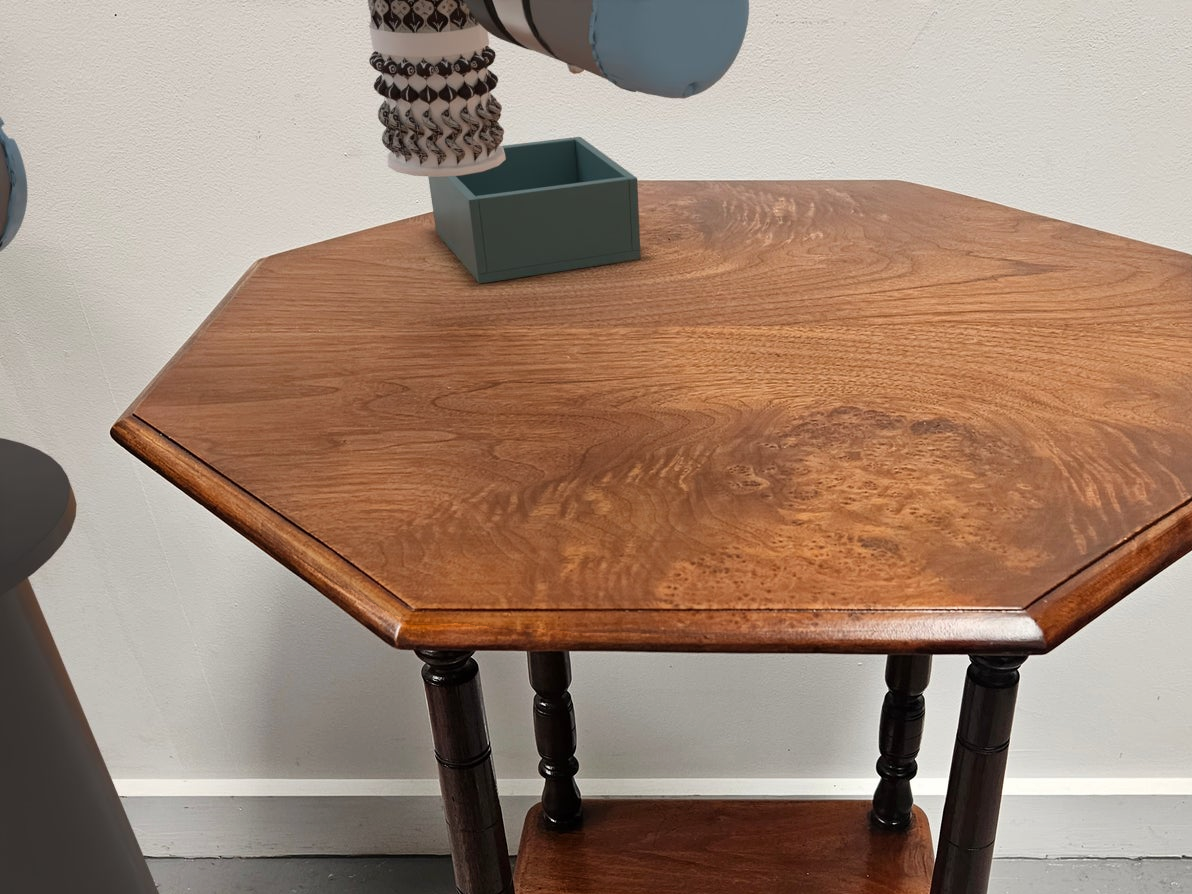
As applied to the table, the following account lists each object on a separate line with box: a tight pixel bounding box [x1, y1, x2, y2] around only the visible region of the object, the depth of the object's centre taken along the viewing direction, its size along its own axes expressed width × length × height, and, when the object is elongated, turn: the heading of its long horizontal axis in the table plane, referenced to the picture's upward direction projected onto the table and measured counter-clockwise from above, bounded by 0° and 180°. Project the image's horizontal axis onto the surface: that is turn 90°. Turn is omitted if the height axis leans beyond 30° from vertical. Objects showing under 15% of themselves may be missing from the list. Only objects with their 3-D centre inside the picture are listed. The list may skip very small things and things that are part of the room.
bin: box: [427, 136, 642, 285], centre depth 110 cm, size 15×15×7 cm
